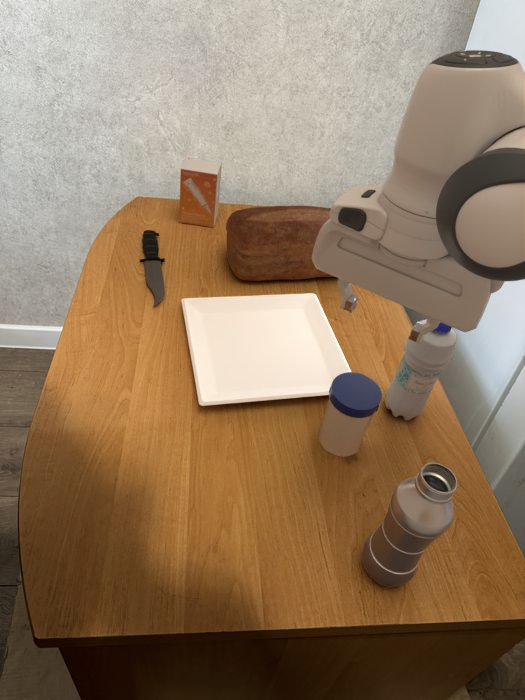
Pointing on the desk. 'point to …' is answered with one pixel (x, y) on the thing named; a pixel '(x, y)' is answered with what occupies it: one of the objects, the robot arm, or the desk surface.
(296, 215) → the bread
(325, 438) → the jar
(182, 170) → the small box
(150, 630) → the desk surface
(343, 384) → the lid
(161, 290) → the knife
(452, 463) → the desk surface
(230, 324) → the plate
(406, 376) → the bottle
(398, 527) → the silver ringed container
